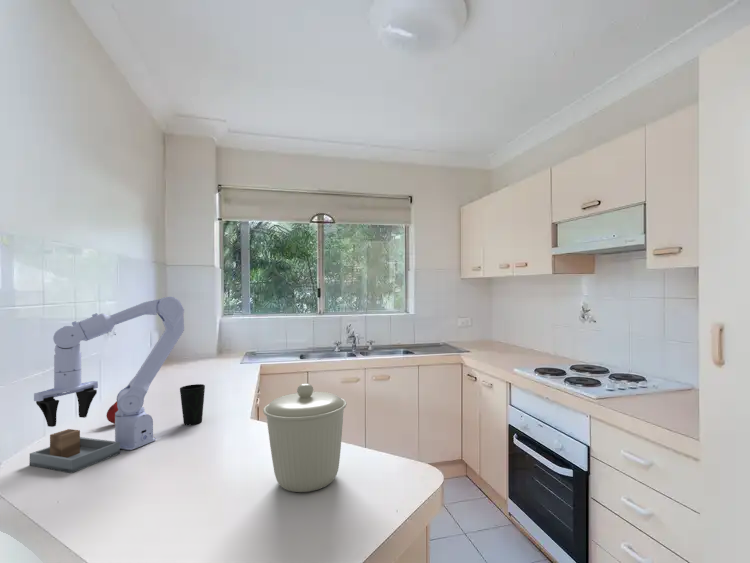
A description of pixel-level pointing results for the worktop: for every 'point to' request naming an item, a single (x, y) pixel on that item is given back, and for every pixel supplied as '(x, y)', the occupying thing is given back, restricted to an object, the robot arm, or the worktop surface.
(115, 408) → the pomegranate
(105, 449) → the tray
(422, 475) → the worktop surface
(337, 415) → the canister
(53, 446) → the block
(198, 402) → the cup
